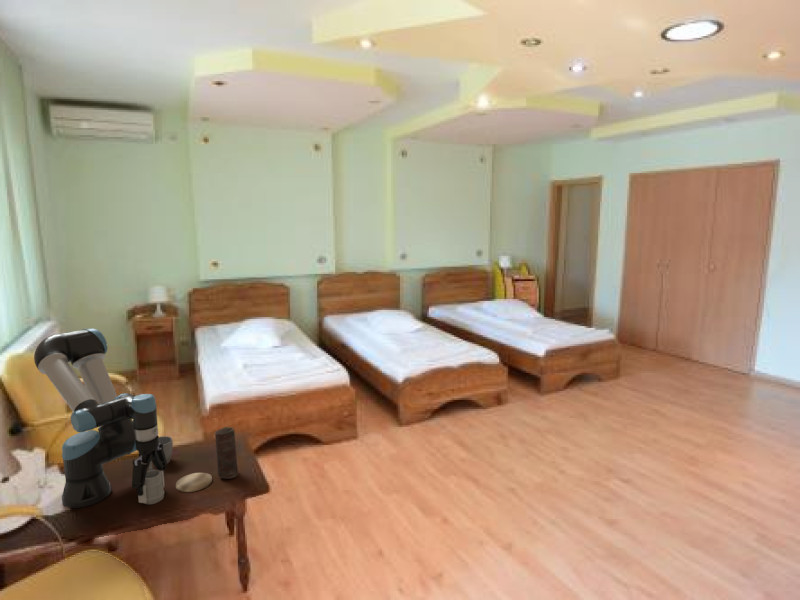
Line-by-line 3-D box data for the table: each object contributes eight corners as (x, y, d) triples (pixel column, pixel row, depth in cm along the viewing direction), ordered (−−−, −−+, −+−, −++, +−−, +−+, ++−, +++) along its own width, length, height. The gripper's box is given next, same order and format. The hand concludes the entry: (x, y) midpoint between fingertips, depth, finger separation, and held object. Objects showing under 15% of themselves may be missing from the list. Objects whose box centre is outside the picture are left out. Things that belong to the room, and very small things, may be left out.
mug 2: (176, 463, 201) (174, 441, 199) (152, 469, 195) (150, 447, 194) (170, 452, 210) (168, 431, 208) (147, 457, 205) (145, 436, 203)
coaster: (168, 490, 181) (168, 489, 180) (188, 472, 193) (187, 471, 193) (200, 493, 179) (200, 492, 179) (218, 475, 192) (218, 473, 191)
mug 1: (141, 507, 170) (138, 476, 168) (141, 490, 181) (138, 461, 178) (165, 501, 174) (162, 471, 172) (163, 485, 184) (161, 456, 182)
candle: (222, 483, 186) (218, 435, 182) (214, 475, 191) (211, 428, 188) (241, 476, 191) (238, 429, 187) (233, 469, 196) (230, 423, 193)
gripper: (135, 452, 161) (141, 513, 165) (174, 425, 183) (179, 479, 187) (115, 451, 162) (121, 511, 166) (156, 423, 184) (161, 477, 188)
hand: (152, 494), depth 176 cm, fingers closed on mug 1, 9 cm apart
